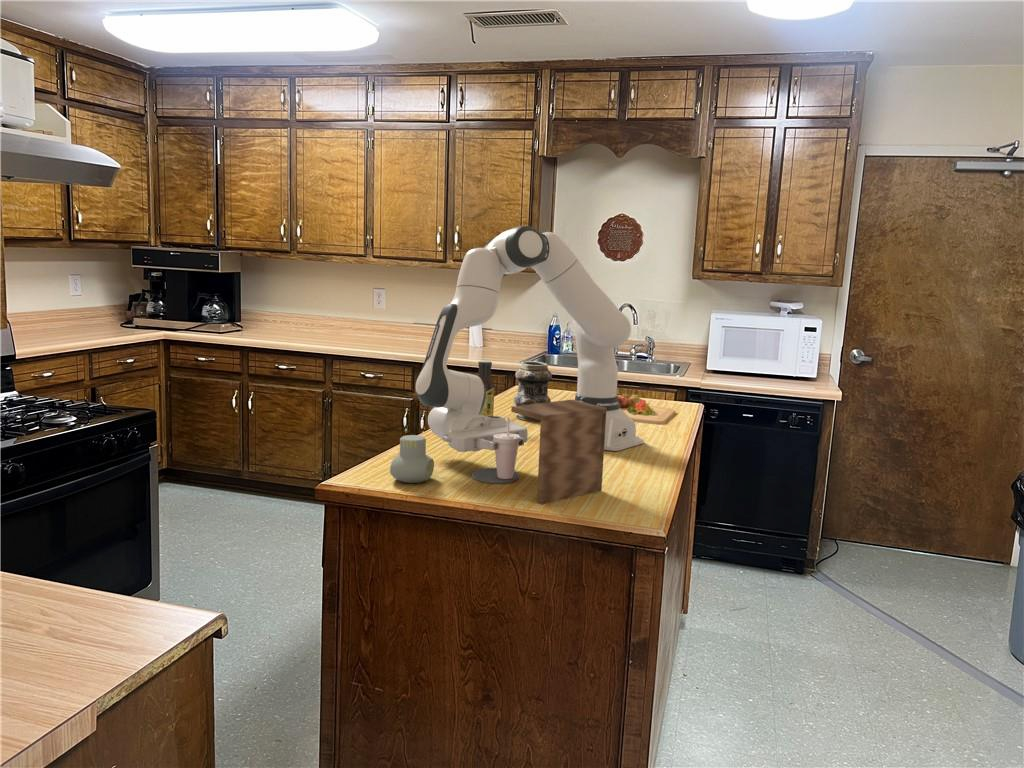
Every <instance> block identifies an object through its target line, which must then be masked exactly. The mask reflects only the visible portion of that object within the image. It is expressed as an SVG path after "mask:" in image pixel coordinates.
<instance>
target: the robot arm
mask: <svg viewBox="0 0 1024 768" xmlns="http://www.w3.org/2000/svg"><path fill="white" fill-rule="evenodd" d="M528 268H531V269H532V270H533V271H535V272H536V273H537V275H538V276H539V278H540V279H541V281H542V282H543V283H544V284H545V286H546V287H547V289H548V290H549V292H550V293H551V294H552V295H553V297H554V299H555V300H556V301H557V303H558V304H559V305H560V306H561V308H563V309H564V310H565V311H566V312H567V313H568V314H569V316H571V318H572V326H573V327H572V328H573V331H574V336H575V337H574V339H575V347H576V355H577V356H576V357H577V385H576V389H577V390H576V393H575V396H574V400H576V401H580V402H585V403H589V404H593V405H597V406H601V407H605V408H607V410H606V426H605V442H604V451H613V452H619V451H623V450H625V449H629V448H632V447H635V446H639V445H642V444H644V443H645V440H644V439H643V438H642V437H640V436H637V426H636V422H634V421H633V420H632V419H631V418H630V417H629V416H628V415H627V414H626V413H624V412H623V411H622V410H621V409H620V403H622V404H626V403H625V402H627V400H626V399H627V398H626V397H622V396H621V395H619V396H620V397H618V395H617V392H618V378H619V377H618V376H619V375H618V372H619V368H618V364H617V362H616V357H615V349H614V348H618V347H621V346H623V345H624V344H625V343H626V342H627V341H628V339H629V337H630V336H631V330H632V327H631V326H632V325H631V323H630V322H631V321H630V320H629V319H628V317H627V316H626V315H625V314H624V312H622V311H621V310H620V309H619V307H617V305H616V304H615V303H614V301H612V299H611V298H610V297H609V296H608V295H607V294H606V293H605V291H603V290H602V289H601V287H599V285H598V284H597V283H596V282H595V281H594V279H593V278H592V277H591V276H590V274H589V272H587V270H586V269H585V267H584V266H583V264H582V263H581V262H580V260H579V259H578V257H577V256H576V255H575V253H574V252H573V251H572V249H571V248H570V247H569V246H568V245H567V244H566V243H565V242H564V241H563V239H561V238H560V237H559V236H558V235H557V234H556V233H555V232H551V231H545V232H541V231H540V230H538V229H537V228H535V227H534V226H533V227H532V226H529V225H519V226H515V227H513V228H511V229H510V228H509V229H507V230H504V231H503V232H501V233H500V234H499V235H497V236H495V237H492V238H491V239H489V241H488V242H487V243H486V244H485V246H484V247H475V248H471V249H469V250H468V251H467V252H466V253H465V255H464V257H463V260H462V263H461V266H460V269H459V273H458V277H457V282H456V289H455V293H454V296H453V298H452V300H451V302H450V303H449V304H446V305H445V306H444V307H443V308H442V309H441V311H440V313H439V315H438V318H437V321H436V324H435V327H434V330H433V332H432V333H433V334H432V336H431V340H430V341H429V342H430V343H429V346H428V350H427V352H426V355H425V359H424V362H423V364H422V367H421V369H420V370H419V373H418V374H417V377H416V379H415V385H414V392H415V394H416V396H417V398H418V401H419V402H420V403H421V404H422V405H423V406H424V407H426V408H432V409H431V410H430V411H429V413H428V416H427V425H428V427H429V430H430V431H431V432H432V433H433V434H434V435H435V436H436V437H438V438H439V439H441V440H442V441H443V442H446V443H447V445H448V447H449V448H451V449H453V450H455V451H456V452H459V453H467V452H479V451H481V450H489V451H495V450H497V449H498V447H497V446H498V443H497V442H495V441H493V436H494V435H495V434H500V433H507V420H506V417H503V416H501V415H500V416H497V415H496V416H494V415H493V416H483V415H480V413H481V411H482V409H483V407H484V404H485V400H486V389H485V385H484V383H483V381H482V379H481V378H480V377H479V375H478V374H472V373H468V372H464V371H463V372H462V371H457V370H453V369H448V366H447V364H448V360H449V358H450V353H451V349H452V347H453V345H454V344H453V343H454V341H455V340H454V339H455V338H456V336H457V334H458V333H459V332H460V331H461V330H464V329H468V328H472V327H476V326H481V325H483V324H485V323H487V322H489V321H490V320H491V319H492V318H493V317H494V316H495V315H496V311H497V309H498V305H499V297H500V290H501V282H502V279H503V277H506V276H509V275H512V274H518V273H520V272H523V271H524V270H526V269H528ZM528 432H529V431H528V428H527V427H526V426H523V424H521V423H520V424H519V423H517V422H515V421H511V420H510V424H509V433H510V434H516V435H519V436H520V442H519V444H518V447H523V446H524V445H525V444H526V443H527V441H528V435H529V434H528Z"/></svg>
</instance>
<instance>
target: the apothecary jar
mask: <svg viewBox="0 0 1024 768" xmlns="http://www.w3.org/2000/svg"><path fill="white" fill-rule="evenodd" d="M514 374H515V378H516V379H517V380H518V388H517V393H516V394H515V395H514V397H513V403H514V406H520V405H528V404H537V403H546V402H552V400H551V397H550V396H549V395H548V394H549V393H548V392H549V391H548V390H549V389H548V388H549V382H551V380H552V379H553V374H552V372H551V371H550V370H549V368H548V364H547V362H541V361H530V360H528V361H521V363H520V367H519V368H518V369H517V370H516V371H515V373H514ZM515 418H516V419H519V420H521V421H528V422H529V421H530V422H539V421H540V422H541V420H538V419H534V418H531V417H527V416H524V415H521V414H517V415H516V416H515Z"/></svg>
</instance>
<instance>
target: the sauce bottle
mask: <svg viewBox="0 0 1024 768" xmlns="http://www.w3.org/2000/svg"><path fill="white" fill-rule="evenodd" d="M492 364H493V362H492V361H490V360H479V361H478V374H477V376H479V377H480V378H481V379H482V381H483V383H484V385H485V389H486V400H485V404H484V407H483V409H482V411H481V413H480V415H483V416H494V409H495V408H494V407H495V406H494V405H495V386H494V382H493V378H492Z"/></svg>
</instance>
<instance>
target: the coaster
mask: <svg viewBox="0 0 1024 768" xmlns="http://www.w3.org/2000/svg"><path fill="white" fill-rule="evenodd" d="M519 475H520V474H519V473H518V472H516V471H514V475H513V478H510V479H502V478H498V477H497V467H492V468H491V467H487V468H480V469H476V470H474V471H473V472H472V473H471V477H473V478H474V479H473V478H472V479H473V480H475V481H477V482H480V483H484V482H485V484H491V483H492V485H495V484H496V485H500V484H501V485H504V484H510V483H514V482H517V481H518V480H519V477H520V476H519Z"/></svg>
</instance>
